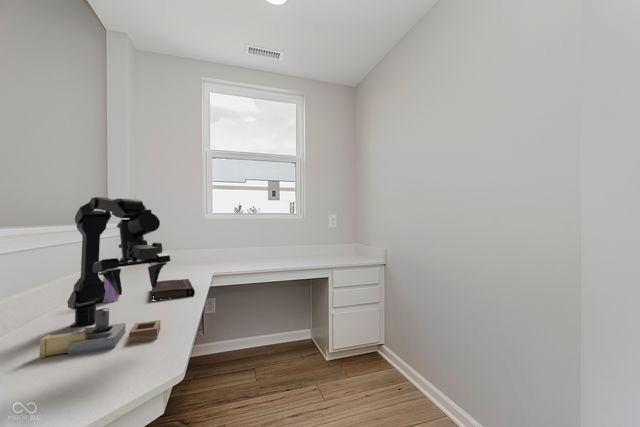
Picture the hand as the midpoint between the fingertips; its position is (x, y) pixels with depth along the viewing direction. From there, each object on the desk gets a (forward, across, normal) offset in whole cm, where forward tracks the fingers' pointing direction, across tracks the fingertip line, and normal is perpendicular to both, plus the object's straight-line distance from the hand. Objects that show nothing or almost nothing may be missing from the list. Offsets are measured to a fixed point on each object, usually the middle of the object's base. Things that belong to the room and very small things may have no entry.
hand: (137, 291), depth 78 cm
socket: (+12, -5, +14) cm, 19 cm away
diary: (+5, +40, +49) cm, 64 cm away
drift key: (+12, -12, +15) cm, 23 cm away
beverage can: (+2, +19, +60) cm, 63 cm away
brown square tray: (+14, +4, +7) cm, 16 cm away
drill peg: (+12, -4, +15) cm, 20 cm away
